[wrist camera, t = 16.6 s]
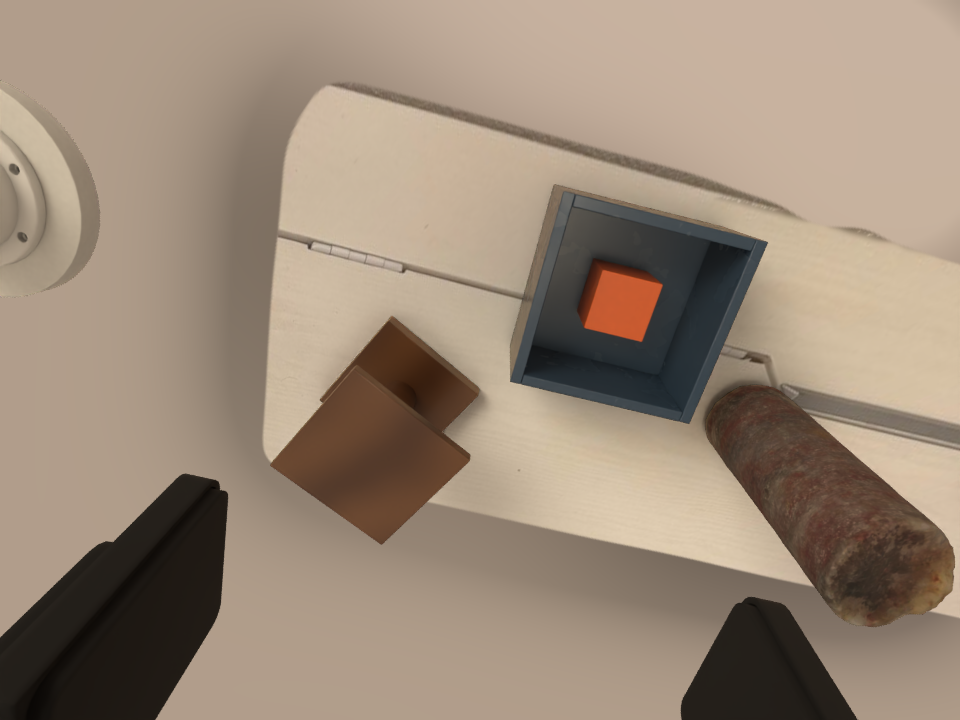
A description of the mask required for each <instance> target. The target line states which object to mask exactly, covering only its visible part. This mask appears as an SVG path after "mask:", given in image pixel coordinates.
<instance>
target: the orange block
mask: <svg viewBox="0 0 960 720" xmlns="http://www.w3.org/2000/svg"><path fill="white" fill-rule="evenodd" d="M662 287H663V284H662V283H661V282H659V281H658V280H657V279H656V278H655V277H654V276H652V275H651V274H650V273H649V272H648V271H644V270H640V269H636V268H632V267H628V266H624V265H620V264H615V263H611V262H607V261H603V260H599V259H595V258H594V259H593V261H592V264H591V268H590V271H589V274H588V277H587V280H586V283H585V287H584V290H583V293H582V296H581V299H580V303H579V306H578V309H577V313H578V315H579V317H580V320H581V322H582V324H583V327H584V328H586V329H590V330H594V331H598V332H603V333H607V334H611V335H615V336H619V337H623V338H628V339H632V340H636V341H640V342H642V340H643V338H644V335H645V332H646V330H647V327H648V324H649V322H650V319H651V316H652V314H653V311H654V308H655V305H656V303H657V300H658V297H659V295H660V292H661V289H662Z"/></svg>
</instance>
